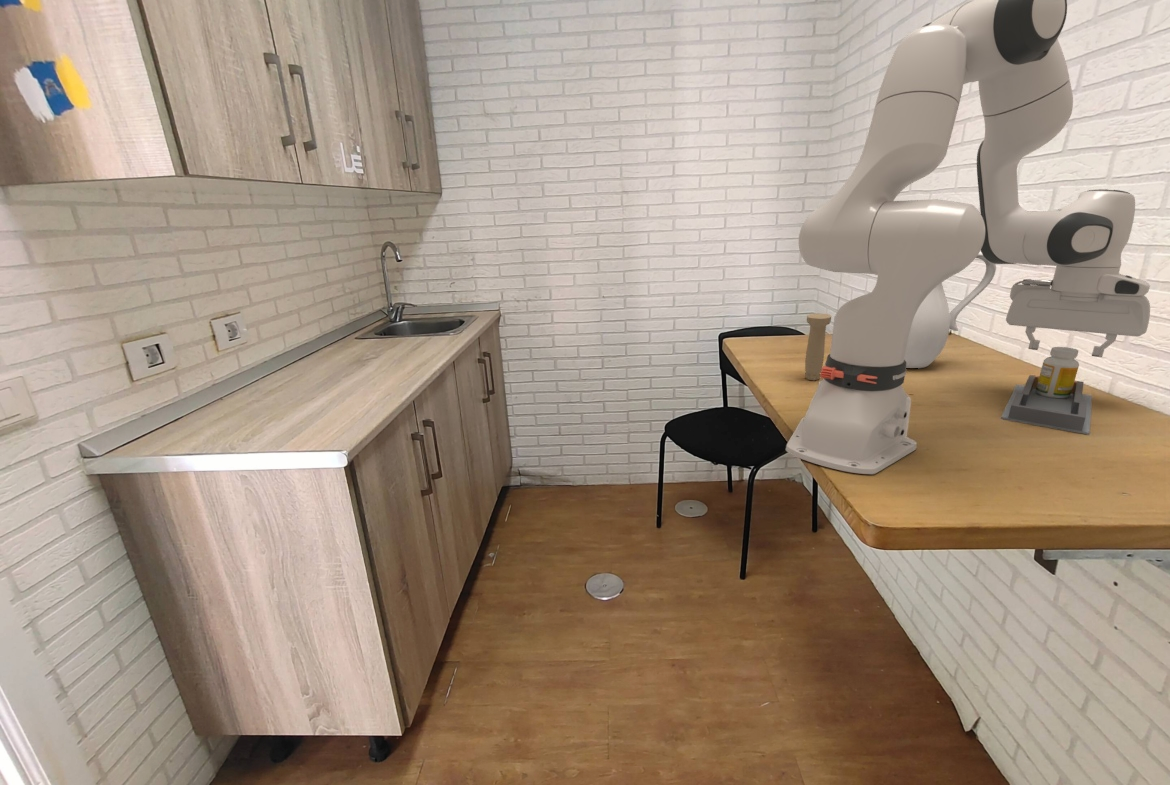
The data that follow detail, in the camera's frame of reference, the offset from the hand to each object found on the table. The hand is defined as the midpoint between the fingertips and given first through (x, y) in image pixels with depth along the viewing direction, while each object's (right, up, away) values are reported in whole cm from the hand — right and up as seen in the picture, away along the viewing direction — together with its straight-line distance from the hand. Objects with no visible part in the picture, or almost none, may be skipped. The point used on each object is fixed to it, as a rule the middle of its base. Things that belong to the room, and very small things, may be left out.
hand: (1063, 352), depth 103 cm
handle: (-41, -5, +20) cm, 46 cm away
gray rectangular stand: (-5, -11, -2) cm, 12 cm away
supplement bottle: (+1, -9, +3) cm, 9 cm away
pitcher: (-11, -1, +28) cm, 30 cm away
